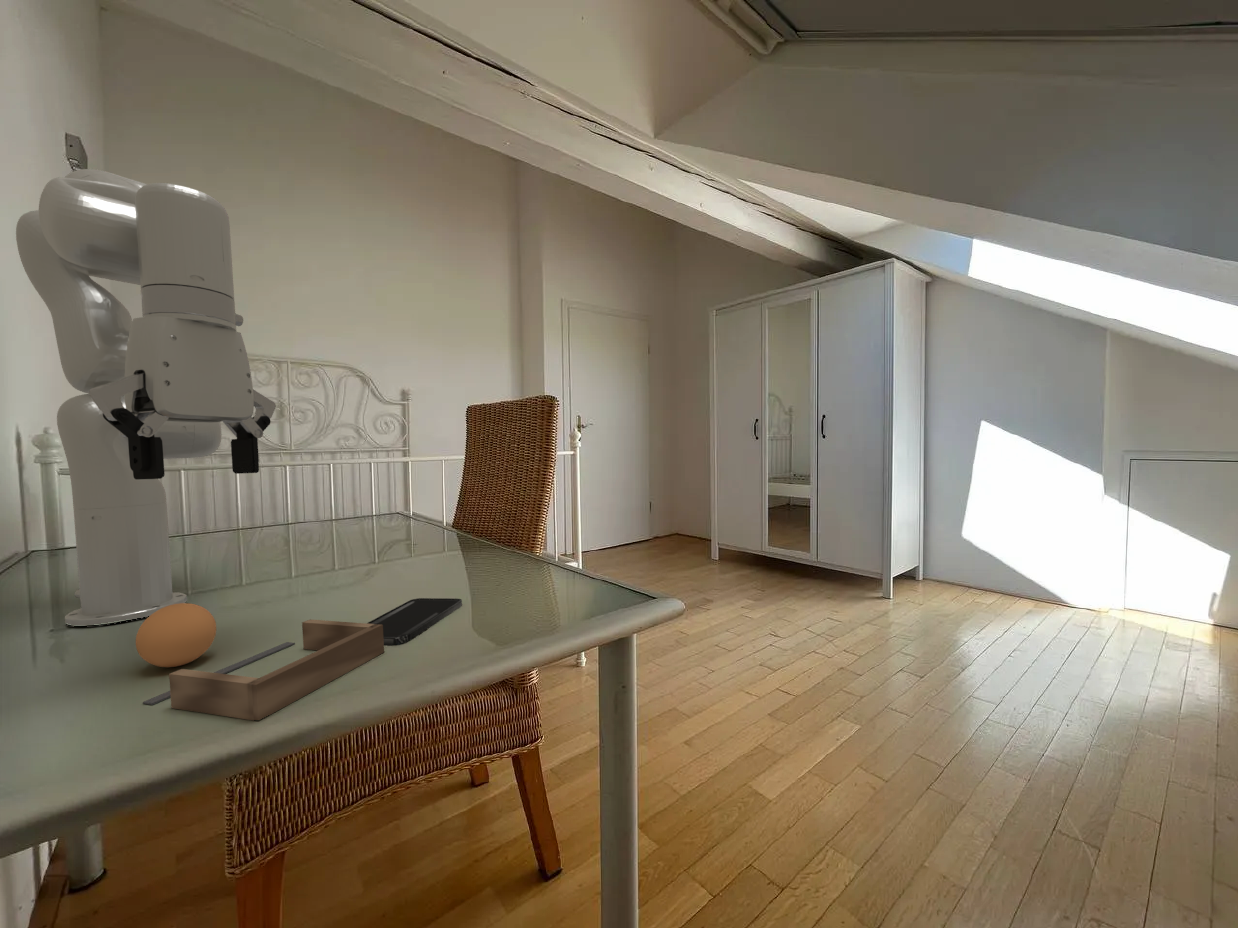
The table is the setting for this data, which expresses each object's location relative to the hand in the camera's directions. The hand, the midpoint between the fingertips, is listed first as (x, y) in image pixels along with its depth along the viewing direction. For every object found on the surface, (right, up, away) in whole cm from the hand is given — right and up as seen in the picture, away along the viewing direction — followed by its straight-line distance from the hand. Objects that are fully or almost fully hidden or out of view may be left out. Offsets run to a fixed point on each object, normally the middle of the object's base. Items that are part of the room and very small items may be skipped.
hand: (201, 475), depth 54 cm
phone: (+18, -19, +10) cm, 28 cm away
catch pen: (+12, -20, -5) cm, 23 cm away
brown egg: (-2, -17, 0) cm, 17 cm away
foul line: (+5, -20, -2) cm, 20 cm away
